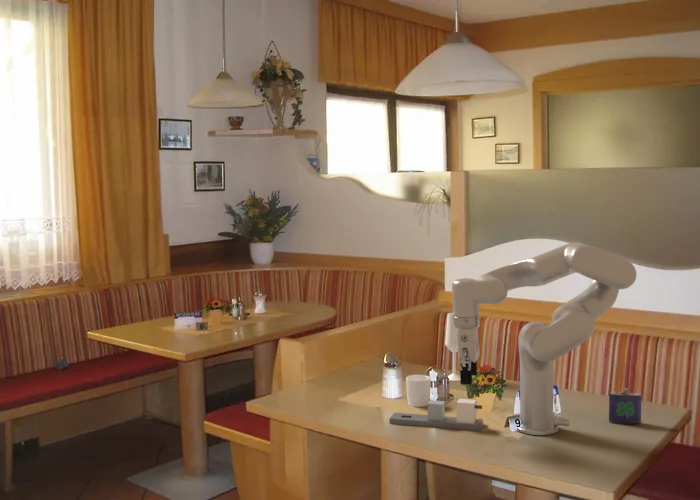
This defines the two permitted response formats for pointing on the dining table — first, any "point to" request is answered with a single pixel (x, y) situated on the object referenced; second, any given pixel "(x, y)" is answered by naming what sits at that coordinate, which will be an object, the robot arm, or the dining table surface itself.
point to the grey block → (436, 410)
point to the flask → (625, 407)
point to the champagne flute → (452, 344)
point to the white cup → (418, 390)
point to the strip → (433, 422)
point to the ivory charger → (467, 411)
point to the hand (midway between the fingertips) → (469, 379)
